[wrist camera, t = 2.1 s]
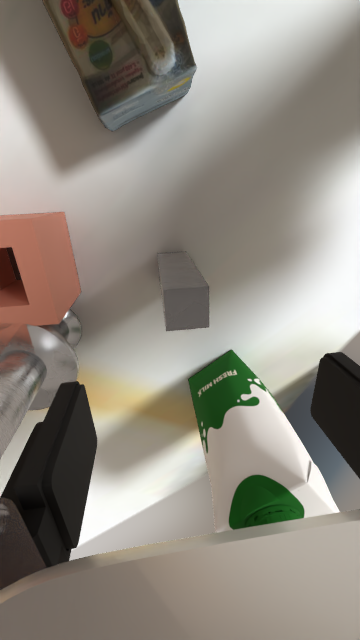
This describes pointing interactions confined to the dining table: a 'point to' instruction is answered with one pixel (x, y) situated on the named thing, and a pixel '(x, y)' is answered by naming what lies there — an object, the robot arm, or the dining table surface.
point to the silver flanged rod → (36, 371)
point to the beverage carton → (126, 53)
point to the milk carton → (252, 451)
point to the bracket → (35, 273)
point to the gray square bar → (183, 292)
